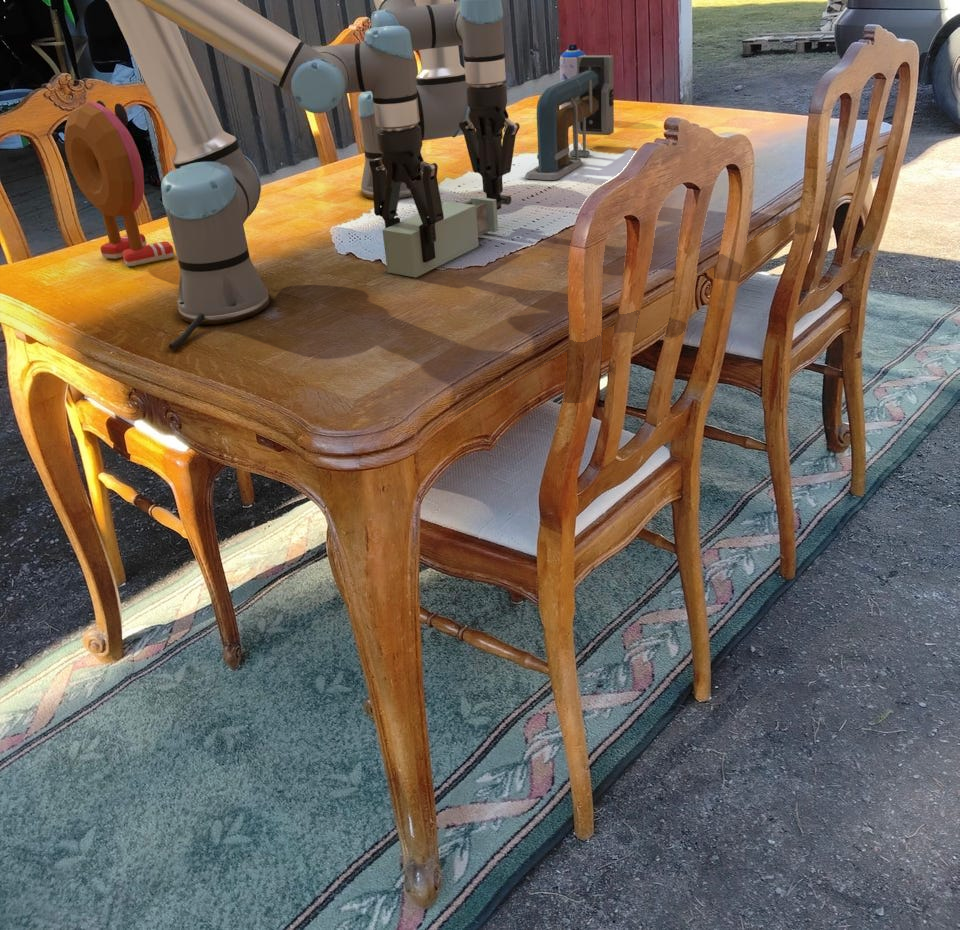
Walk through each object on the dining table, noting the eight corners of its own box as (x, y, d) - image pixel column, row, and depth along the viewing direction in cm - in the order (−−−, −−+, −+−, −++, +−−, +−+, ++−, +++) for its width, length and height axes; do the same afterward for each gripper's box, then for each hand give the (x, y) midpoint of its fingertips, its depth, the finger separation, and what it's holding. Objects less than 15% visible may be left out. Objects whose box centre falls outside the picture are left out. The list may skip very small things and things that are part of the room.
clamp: (556, 180, 222) (553, 82, 211) (522, 178, 225) (517, 81, 215) (613, 144, 247) (613, 55, 237) (582, 143, 251) (580, 55, 240)
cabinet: (451, 241, 189) (447, 201, 185) (479, 246, 185) (475, 205, 181) (387, 272, 176) (382, 229, 172) (415, 277, 172) (411, 234, 168)
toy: (187, 258, 192) (149, 99, 177) (141, 273, 186) (98, 110, 171) (132, 241, 205) (93, 92, 190) (88, 254, 199) (43, 101, 184)
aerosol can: (559, 122, 275) (557, 47, 265) (562, 117, 282) (559, 42, 272) (587, 121, 274) (585, 45, 263) (589, 115, 280) (587, 41, 270)
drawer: (493, 218, 197) (491, 188, 194) (515, 221, 194) (514, 191, 191) (418, 254, 181) (415, 221, 178) (441, 258, 178) (438, 225, 175)
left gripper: (457, 124, 161) (468, 258, 173) (369, 118, 172) (385, 244, 183) (429, 134, 156) (443, 271, 168) (340, 127, 167) (359, 256, 178)
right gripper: (526, 81, 179) (531, 208, 191) (470, 79, 186) (479, 201, 198) (502, 88, 174) (510, 218, 186) (446, 86, 181) (456, 211, 193)
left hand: (413, 257), depth 176 cm, fingers closed on cabinet, 7 cm apart
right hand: (494, 209), depth 192 cm, fingers closed
